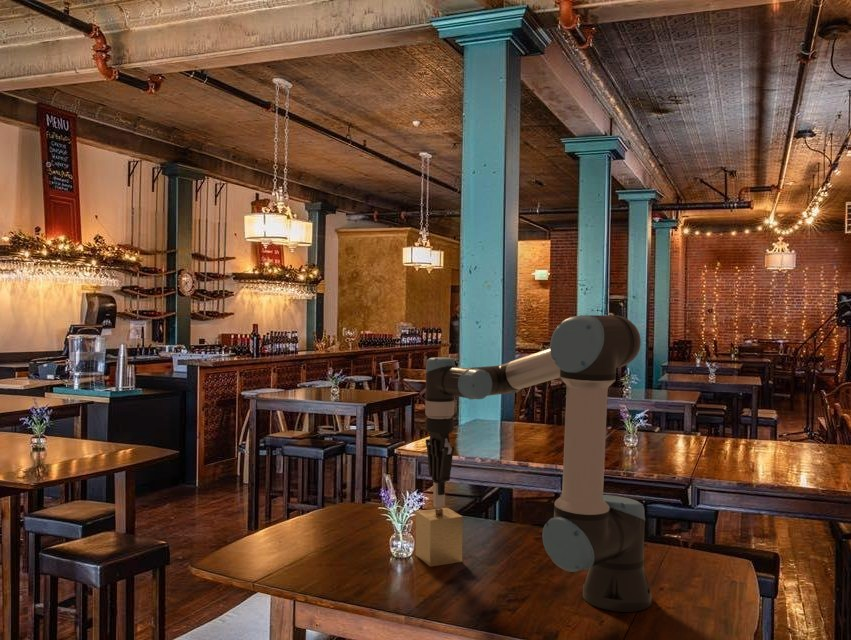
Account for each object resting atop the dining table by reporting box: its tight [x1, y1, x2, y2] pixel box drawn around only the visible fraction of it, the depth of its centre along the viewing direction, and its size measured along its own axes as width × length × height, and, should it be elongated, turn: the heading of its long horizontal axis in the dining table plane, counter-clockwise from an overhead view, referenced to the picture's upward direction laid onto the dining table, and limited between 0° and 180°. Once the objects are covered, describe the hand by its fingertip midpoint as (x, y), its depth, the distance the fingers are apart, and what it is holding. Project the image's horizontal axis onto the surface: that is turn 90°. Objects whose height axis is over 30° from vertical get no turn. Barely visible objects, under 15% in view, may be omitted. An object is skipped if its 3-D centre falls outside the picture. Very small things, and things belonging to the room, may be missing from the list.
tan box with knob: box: [415, 507, 464, 567], centre depth 194 cm, size 9×9×13 cm
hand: (439, 506), depth 194 cm, fingers closed
